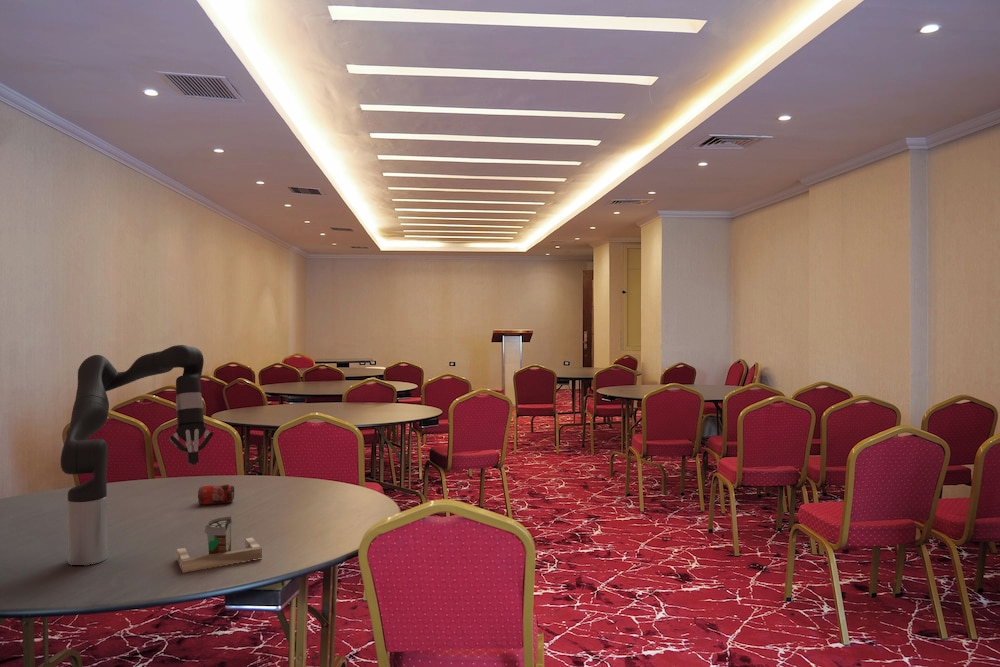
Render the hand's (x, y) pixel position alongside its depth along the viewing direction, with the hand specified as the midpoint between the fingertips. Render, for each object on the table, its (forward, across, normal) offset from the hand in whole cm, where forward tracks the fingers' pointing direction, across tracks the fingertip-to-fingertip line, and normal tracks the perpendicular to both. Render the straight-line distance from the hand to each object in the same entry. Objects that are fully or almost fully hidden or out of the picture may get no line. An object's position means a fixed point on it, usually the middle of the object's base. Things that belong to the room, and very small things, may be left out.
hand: (193, 464), depth 211 cm
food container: (+28, -2, +18) cm, 33 cm away
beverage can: (+12, -13, -46) cm, 49 cm away
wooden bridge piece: (+28, -2, +19) cm, 34 cm away
